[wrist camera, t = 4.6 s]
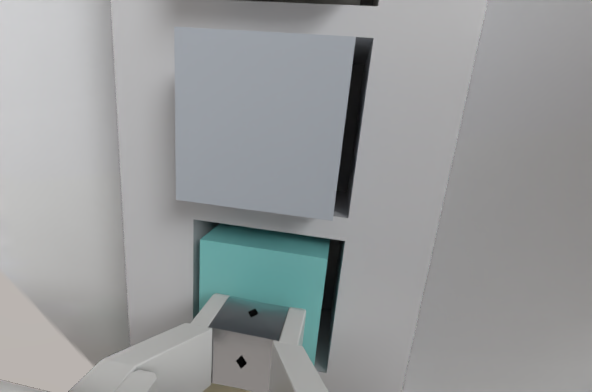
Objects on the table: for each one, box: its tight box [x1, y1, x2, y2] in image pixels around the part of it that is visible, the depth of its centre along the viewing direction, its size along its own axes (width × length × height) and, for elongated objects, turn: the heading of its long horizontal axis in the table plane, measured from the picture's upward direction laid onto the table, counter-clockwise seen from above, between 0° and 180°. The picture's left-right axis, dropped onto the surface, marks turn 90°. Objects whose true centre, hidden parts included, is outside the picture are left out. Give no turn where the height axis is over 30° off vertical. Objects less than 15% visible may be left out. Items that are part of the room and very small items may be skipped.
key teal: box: [199, 223, 330, 365], centre depth 12 cm, size 4×4×4 cm
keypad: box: [110, 0, 488, 392], centre depth 12 cm, size 11×26×4 cm, turn 175°
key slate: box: [174, 27, 356, 221], centre depth 9 cm, size 4×4×4 cm
